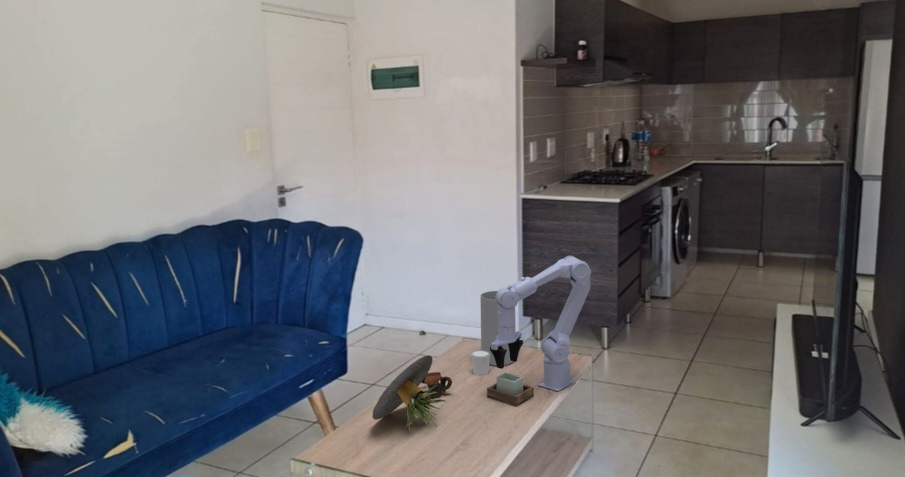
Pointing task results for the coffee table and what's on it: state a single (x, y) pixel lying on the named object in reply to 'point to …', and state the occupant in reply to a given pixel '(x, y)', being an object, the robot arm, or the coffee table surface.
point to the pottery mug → (436, 383)
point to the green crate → (510, 384)
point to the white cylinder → (480, 362)
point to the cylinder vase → (490, 325)
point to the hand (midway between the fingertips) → (506, 364)
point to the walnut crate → (508, 398)
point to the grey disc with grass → (408, 393)
